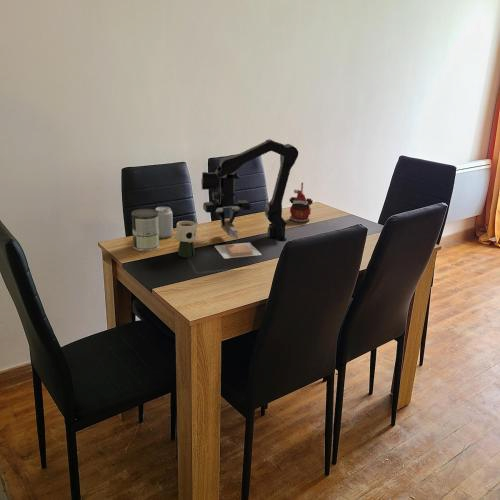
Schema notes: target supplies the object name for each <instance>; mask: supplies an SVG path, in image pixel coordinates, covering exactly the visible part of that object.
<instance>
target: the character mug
mask: <svg viewBox="0 0 500 500" xmlns="http://www.w3.org/2000/svg"><path fill="white" fill-rule="evenodd" d="M196 223H197V222H195V221H193V220H192V221H191V220H181V221H177V223H176V231H175V239H176V240H177V241H179V243H178V244H179V245H178V252H177V254H178V256H179V257H181V258H191V257H193V256H195V255H196V254H195V253H196V251H195V245H194V241H196V238H197V225H196Z"/></svg>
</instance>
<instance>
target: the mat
mask: <svg viewBox="0 0 500 500" xmlns="http://www.w3.org/2000/svg"><path fill="white" fill-rule="evenodd" d="M244 243H245V244H246V245H247V246H248V247H249V248H250V249H251V250H252V255H244V256H233V257H232V256H231V254H230V253H229V252H228V251H227V250H226V249H225V245H226V244H221V245H220V244H219V245H218V244H217V245H214V248H215V249H216V250H217V251H218V253H219V254H220V255H221V256H222V258H223V259H225V260H226V259H233V258H244V257H252V256H256V257H257V256H262V255H263V254H262V253H261V252H260V251H259V250H258V249H257V248H256V247H255V246H254V245H253V244H252V243H251V242H243V243H242V242H241V243H239V244H244ZM232 244H233V243H232ZM232 244H228V245H232Z"/></svg>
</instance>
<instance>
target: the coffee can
mask: <svg viewBox="0 0 500 500" xmlns="http://www.w3.org/2000/svg"><path fill="white" fill-rule="evenodd" d="M130 214H131V224H132V227H131V228H132V229H131V230H132V242H133V243H132V244H133V246H132V247H133V249H134V250H136V251H138V252H139V251H140V252H149V251H151V252H152V251H155V250H158V249H159V248H160V238H159V224H158V211H156V209H153V208H139V209H135V210H133V211H131V213H130Z"/></svg>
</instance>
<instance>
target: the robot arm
mask: <svg viewBox="0 0 500 500" xmlns="http://www.w3.org/2000/svg"><path fill="white" fill-rule="evenodd" d="M270 152H273V153H276V154H278V155H279V157H280V158H279V159H280V160H279V163H280V164H279V165H280V166H279V168H278V169H279V170H278V174H277V177H276V180H275V181H276V182H275V185H274V190H273V193H272V196H271V197H272V198H271V199H270V201H266V202H265V207H264V209H263V212H264V215H265V217H266V219H267V220H268V222H270V223H268V227H267V236H266V237H267V238H268V239H271V240H273V239H274V240H278V241H286V240H287V238H286V226H287V222H286V220H285V219H284V218H283V216H282V215H283V199H284V196H285V192H286V188H287V184H288V180H289V176H290V173H291V169H292V168H293V167H294V165H295V164H296V161H297V159H298V156H299V151H298V149H297V147H295V146H294V145H292V144H290V143H286V144H284V143H280V142H277V141H274V140H273V139H270V138H269V139H266V140H265V141H263V142H261V143H259V144H257V145H255V146H253V147H251V148H249V149H247V150H245V151H243V152H242V151H241V152H240V153H238V154H237V153H235V154H231V155H227V156H224V157H223V158H221V159H220V162H219V165H218V166H217V168H216V170H215V171H214V172H206V171H203V172H202V173H201V179H200V181H201V190H217V189H218V188H219V187H220V188H219V193H218V191H213V192H212V193H211V195H212V196H211V198H212V200H213V201H216V203H217V204H215V202H213V201H208V202H203V205H202V208H203V211H204V212H205V213H216V214H217V215H218V216H219V219H220V224H221V223H222V226H223V227H224V224H225V219H226V218H225V211H224V209H229V218H228V220H229V221H230V222H231V223H232V224H233V222H234V220H235V219H236V217H237V215H238V213H240V212H241V210H240V208H241V209H242V210H243V211H250V210H251V208H252V205H251V203H250V202H249V201H248V200H247V199H241V200H240V199H239V200H237V202H235V196H236V192H235V185H236V184H235V182H236V181H235V180H239V179H240V177H241V176H239V175H238V174H237V172H236V171H237V170H238V169H240V168H241V167H243V165H244V164H247V163H248V162H250V161H253V160H254V159H256V158H259V157H261V156H263V155H265V154H267V153H270Z"/></svg>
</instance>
